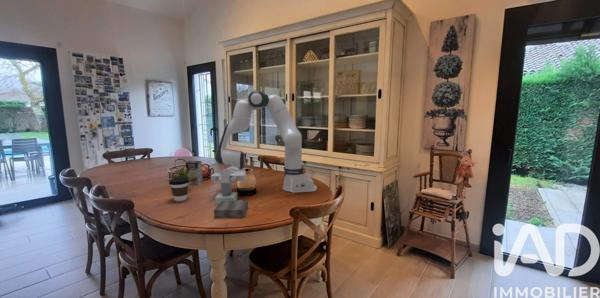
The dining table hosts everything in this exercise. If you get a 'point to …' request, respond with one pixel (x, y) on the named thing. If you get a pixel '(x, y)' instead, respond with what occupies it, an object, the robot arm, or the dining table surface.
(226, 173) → the housing
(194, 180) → the coffee box
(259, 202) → the dining table surface
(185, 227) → the dining table surface
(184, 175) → the house plant
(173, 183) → the coffee cup
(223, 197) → the stand
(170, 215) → the dining table surface
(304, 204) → the dining table surface
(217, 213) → the stand
